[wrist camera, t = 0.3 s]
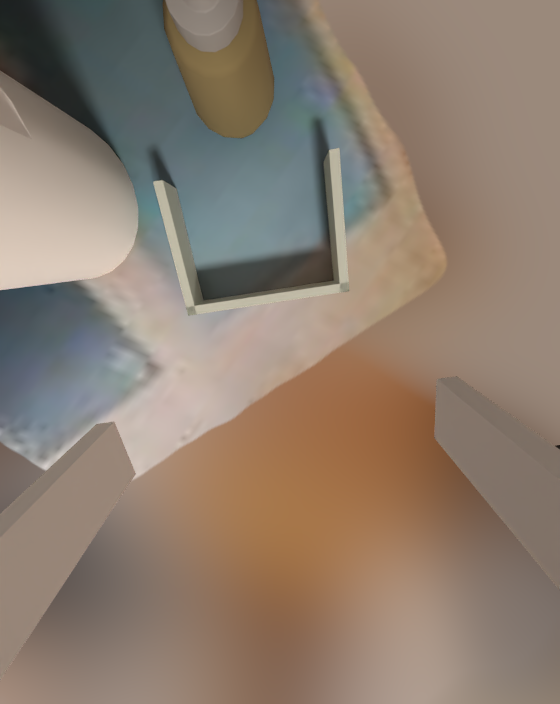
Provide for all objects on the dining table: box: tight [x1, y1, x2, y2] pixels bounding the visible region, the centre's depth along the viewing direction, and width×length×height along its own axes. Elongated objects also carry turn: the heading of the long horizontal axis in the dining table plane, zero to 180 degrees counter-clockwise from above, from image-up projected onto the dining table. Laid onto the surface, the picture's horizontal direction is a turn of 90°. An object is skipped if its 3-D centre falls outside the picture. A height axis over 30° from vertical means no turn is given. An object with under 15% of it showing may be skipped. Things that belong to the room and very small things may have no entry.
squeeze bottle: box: [163, 0, 274, 138], centre depth 21 cm, size 8×8×18 cm
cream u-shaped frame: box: [153, 148, 349, 315], centre depth 32 cm, size 14×19×4 cm
